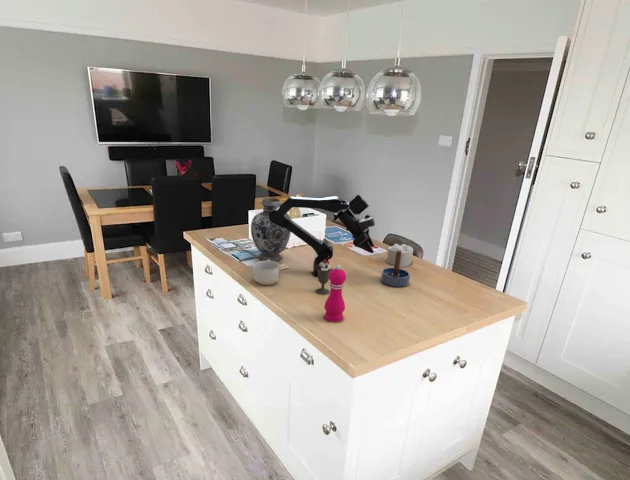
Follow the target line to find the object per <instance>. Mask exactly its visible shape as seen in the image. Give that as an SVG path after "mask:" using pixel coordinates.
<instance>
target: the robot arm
mask: <svg viewBox="0 0 630 480" xmlns="http://www.w3.org/2000/svg"><path fill="white" fill-rule="evenodd" d="M369 207H370V205H369V203H367V201H366V200H365V198H363V197H362V196H361V195H360V194H359V193H357V194H356V195H355V196H354V197H353V198H352V199H351V200H350V201H349V200H345V199H342V198H341V197H339V196H337V195H333V196H326V197H320V198H318V197H301V196H292V195H290V196H289V197H287V198H286V200H285V201H284V202H282V204H281V205H280V206H279V207H276V208H274V209H273V210H272V211H271V212H270V214H269V219H270V221H271V222H272V223H274V224H276V225H278V226H280V227H283V228H286V229H288V230H289V231H290V232H291V233H292V234H293V235H294V236H296V237H297V238H298V239H300V240H301V241H302V242H304V243H305V244H307V245H308V246H309V247H310V248H312V249H313V251H314V252H315V255H314V259H313V263H312V264H313V266H312V270H311V273H312V274H313V275H314V277H318V271H317V270H316V267H317V264H318V265H319V264H320V263H321V262H322V261H323V260H325V259H326V262H327V261H330V260H331V259H332V258H333V256H334V247H333V245H332V242H329V241H328V240H327V239H326V238H325V237H324V238H322V239H318V238H317V237H316V236H314V235H313V234H311V233H310V232H309V231H307V230H306V229H305V228H303V227H302V226H301V225H300V224H298V223H297V222H295V221H294V220H293V219H292V218H291V217H290V216H289V214H288V212H289V211H291V209H292V208H299V209H300V208H302V209H319V210H323V211H326V212H330V213H333V221H334V222H336V221H337V220H339V221H340V222H341V224H342V225H343V226H344V227H345V230H346V231H347V232H349V233H350V235H352V236H351V237H352V238H353V239H352V245H353V246H354V247H355V248H358V249H361V250H363V251H366V252H367V253H369V254H373V253H375V251H374V249H373V248H374V247H375V244H374V242H373V240H372V238H371V236H370V227H371V228H372V227H374V226H376V223H375V222H376V221H375V219H374V217H373V215H370V214H365V215H364V218H362V219H361V220H360V218H357V217H356V216H357V215H358V216H359V215H360V214H361V213H363V212H364V211H365V210H366V209H368V208H369ZM355 215H356V216H355ZM328 256H330V257H329V258H327V257H328Z"/></svg>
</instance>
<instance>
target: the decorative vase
mask: <svg viewBox="0 0 630 480" xmlns="http://www.w3.org/2000/svg"><path fill="white" fill-rule="evenodd" d="M260 204H261V205H262V206H263V208H262V210H263V211H261V212H259V213H256V214H255V215H254V216H253V218H252V219H251V224H250V232H251V238H252V241H253V243H254V246H255V247H256V249H257V250H258V251H259V253H260V254H258V258H259V259H260V260H261V261H267V260H271V261H275V262H278V261H280V260H282V256H281V253H283V252H284V251H285V250H286V249H287V246H288V244H289V241H290V237H291V233H292V232H290V231H289V230H288V229H286V228H283V227H280V226H278V225H276V224H274V223H272V222H271V221H270V219H269V214H270V212H271V211H272V210H273V209H274V208H276V207H279V206H280V205H281V204H283V202H281V200H280V199H279V198H276V197H269V196H267V195H266V196H265V198H263V199H262V201H260Z"/></svg>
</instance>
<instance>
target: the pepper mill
mask: <svg viewBox="0 0 630 480" xmlns="http://www.w3.org/2000/svg"><path fill="white" fill-rule="evenodd" d="M328 281H329V285H328V286H329V288H330V291H329V295H328V297H327V299H326V300H325V303H324V310H325V312H324V313H325V314H324V318H325V319H326V320H327V321H328V322H332V323H337V322H341V321H342V320H343V318H344V314H343V313H344V311H345V310H346V304H345V300H344V297H343V289H344V288H345V286H344V285H345V281H347V273H346V272H345V271H344V270H343V269H342V266H341V265H340V264H337V265H335V268H332V270H331V271H330V273H329V280H328Z"/></svg>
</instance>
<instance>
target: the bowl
mask: <svg viewBox="0 0 630 480" xmlns="http://www.w3.org/2000/svg"><path fill="white" fill-rule="evenodd" d="M393 271H394V267H385V268H383V269H381V275H380V281H381V282H382V283H383V284H385V285H387V286H390V287H394V288H395V287H396V288H400V287H406V286H408V285H409V283H410V278H411V273H410V272H409V271H408V270H405V269H402V268H399V272H398V274H399V275H400V277H392V276H391V274H392V273H393Z"/></svg>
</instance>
